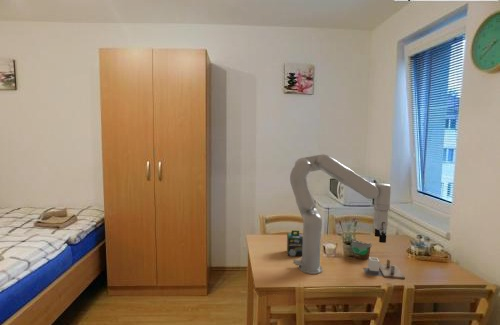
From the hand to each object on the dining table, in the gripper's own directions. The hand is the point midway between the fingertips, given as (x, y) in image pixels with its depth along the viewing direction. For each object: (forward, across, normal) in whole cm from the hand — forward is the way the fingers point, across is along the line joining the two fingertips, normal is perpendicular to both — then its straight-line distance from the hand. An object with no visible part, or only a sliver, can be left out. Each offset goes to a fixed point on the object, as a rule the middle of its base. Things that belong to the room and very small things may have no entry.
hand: (380, 239), depth 163 cm
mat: (+18, 0, -2) cm, 19 cm away
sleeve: (+18, 0, -2) cm, 18 cm away
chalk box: (+18, -18, -44) cm, 51 cm away
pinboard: (+18, -2, +7) cm, 20 cm away
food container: (+19, -19, -6) cm, 28 cm away
